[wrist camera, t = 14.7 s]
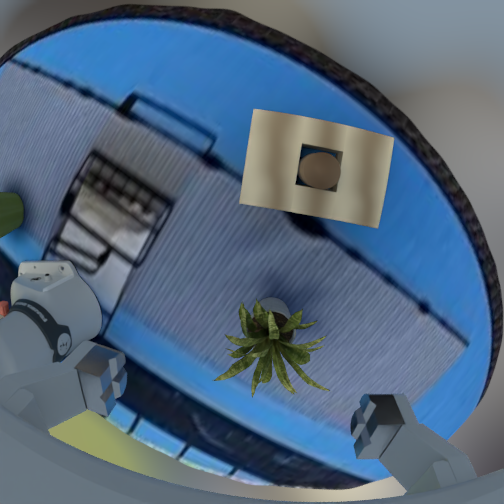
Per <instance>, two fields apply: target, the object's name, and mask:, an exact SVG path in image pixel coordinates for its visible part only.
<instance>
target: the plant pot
mask: <svg viewBox="0 0 504 504" xmlns="http://www.w3.org/2000/svg"><path fill="white" fill-rule="evenodd" d="M23 211H24V207H23V203H22V200H21V198H20V197H19V196H18V195H17V194H15V193H8V192H0V238H1V237H3V236H5V235H6V234H8V233H10V232H11V231H13V230H15V229H16V228H18V227H19V226H20V225H21V224H22V222H23V218H24V217H23Z"/></svg>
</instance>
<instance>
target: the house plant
mask: <svg viewBox="0 0 504 504" xmlns="http://www.w3.org/2000/svg"><path fill="white" fill-rule="evenodd" d="M302 310H303V309H302ZM302 310H300V311H298V312H295V313H294V314H293V315H292V316H291V315H290V312H289V310H288V308H287V306H286V304H285V303H284V302H283V301H282V300H280V299H278V298H274V297H269V298H265V299H263V300H261V301H260V302H258V301H257V298H256V304H255V306H254V308H253V313H252V314H251V315H250V313H249V312H248V311H247V310H246V309H245V308H244V304H242V302H241V306H240V309H239V317H240V320H241V327H242V331H243V333H244V335H245V337H246V338H242V339H239V338H236V337H233V336H228V335H226V334H225V336H226V337H227V338H228V339H229V340H230V341H231V342H232V343H234V344H236V345H239V346H243V347H241V348H239V349H237V350H236V351H233V350H230V349H228V350H230V351H232V352H233V353H231V354H228V355H229V356H231V357H233V358H240V357H242V356H244V357H243V358H242V359H240V360H239V361H237V362H236V363H234V364H233V365H232V366H231V367H230V368H229V370H228V371H227V372H225V373H224V374H222V375H220V376H219V377H217V378H216V379H215V380H214V381H218V380H225V379H228V378H231V377H233V376H235V375H237V374H238V373H240V372H241V371H243V370H245V369H246V368H248V367H249V366H250V365H251V364H252V363H253V361H254V360H255V359H256V358H257V357H260V358H259V361H258V364H257V367H256V370H255V372H254V375H253V379H252V398H253V395H254V393H255V389H256V387H257V385H258V383H260V382H261V381H262V383H266V382H269V381H270V379H271V377H272V359H273V364H274V367H275V370H276V373H277V376H278V378H279V380H280V382H281V383H282V384H283V386H284V387H285V388H286V389H287V390H288V391H290V392H291V393H293V394H294V392H296V391H295V389H294V388H293V387H292V385H291V383H290V380H289V378H288V375H287V372H286V368H285V364H284V362H283V360H282V357H281V354H282V355H283V357H284V358H285V359H286V360H287V362H288V363H289V364H290V365H291V366H292V367H293V368H294V370H295V371H296V372H297V373H298V375H299V376H300V377H301V378H302V379H303V380H304V381H305V382H306V383H307V384H309V385H311V386H314V387H317V388H319V389H322V390H327V391H330V390H328V389H326V388H324V387H323V386H321V385H319V384H317V383H316V382H314V381H313V380H312V379H310V378H309V377H308V376H307V375H306V374H305V373H304V372H303V371H302V369H301V368H300V367H299V366H298V365H297V364H299V365H303V364H306V363H308V362H309V361H310V354H309V353H308V352H312V351H315V350H318V349H320V348H322V347H323V346H324V345H323V346H320V347H317V348H314V349H307V348H310V347H312V346H313V345H315V344H317V343H319V342H320V341H322V340H323V339H324V338H325V337H326V336H324V337H322V338H320V339H317V340H315V341H312V342H309V343H305V344H299V345H295V344H292V343H293V341H294V340H295V336H296V329H306V328H308V327H309V326H311V325H313V324H315V323H316V322H317V321H314V322H311V323H308V324H302V325H298V324H299V323H300V321H301V319H302ZM252 348H253V350H252V351H251V352H249V351H250V350H251V349H252ZM226 349H227V348H226ZM306 351H307V352H306ZM248 352H249V353H248ZM280 352H281V354H280ZM246 353H248V354H246ZM294 361H295V362H296V363H297V364H296V363H295V362H294ZM261 371H262V374H261ZM260 374H261V379H260V380H259V378H260ZM293 391H294V392H293ZM296 393H297V392H296Z"/></svg>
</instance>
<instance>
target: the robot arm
mask: <svg viewBox="0 0 504 504" xmlns="http://www.w3.org/2000/svg"><path fill="white" fill-rule="evenodd" d="M63 267H64V269H63ZM11 302H12V307H11V308H10V310H9V308H8V302H7V301H1V302H0V314H1V315H4V318H2V319H0V504H504V468H503V469H501V470H498V471H496V472H493V473H490V474H487V475H484V476H481V477H477V475H476V473H475V471H474V469H473V467H472V464H471V463H470V460H469V458H468V456H467V455H466V454H465V453H464V452H462V451H461V450H459V449H457V448H456V447H455V446H453V445H452V444H451V443H449V442H448V441H446V440H445V439H443V438H442V437H441V436H439V435H438V434H436V433H435V432H434V431H432V430H431V429H429V428H428V427H426V426H425V425H424V424H419V423H418V421H417V418H416V416H415V414H414V412H413V410H412V408H411V406H410V403H409V401H408V399H407V397H406V395H404V394H364V395H363V396H362V398H361V400H360V406H361V407H360V408H359V409H357V410H356V411H355V412H354V414H353V416H352V420H351V435H352V436H353V437H354V438H355V439H356V442H355V444H354V449H355V453H356V458H357V459H379V461H380V462H381V463H382V464H383V465H384V466H385V467H386V469H387V470H388V471H389V472H390V473H391V474H392V475H393V476H394V477H395V478H396V479H397V480H398V482H399V483H400V484H401V485H402V486H403V487H404V488H405V489H406V490H407V492H406V493H405V494H404V495H403V496H397V497H390V498H382V499H373V500H362V501H347V502H290V501H289V502H288V501H273V500H263V499H253V498H245V497H238V496H231V495H225V494H219V493H213V492H208V491H204V490H199V489H194V488H189V487H186V486H182V485H177V484H174V483H170V482H166V481H163V480H159V479H156V478H153V477H149V476H146V475H143V474H140V473H137V472H134V471H131V470H128V469H125V468H123V467H120V466H117V465H115V464H112V463H109V462H107V461H104V460H102V459H100V458H97V457H95V456H93V455H90V454H88V453H86V452H84V451H81V450H79V449H77V448H75V447H73V446H71V445H69V444H66V443H65V442H63V441H61V440H59V439H57V438H55V437H53V436H51V435H50V433H49V431H48V429H50V428H52V427H54V426H56V425H58V424H60V423H62V422H64V421H66V420H68V419H70V418H72V417H74V416H76V415H78V414H80V413H82V412H84V411H86V409H88V410H91V411H94V412H96V413H99V414H102V415H105V416H107V417H108V416H109V414H110V413H111V411H112V410H113V408H114V406H115V405H116V403H115V399H116V398H118V397H120V396H121V395H122V394H123V392H124V390H125V387H126V384H127V372H126V371H125V369H124V368H123V365H124V364H125V354H124V353H122V352H120V351H117V350H114V349H111V348H108V347H105V346H103V345H100V344H96V343H94V342H91V341H88V340H90V339H92V338H94V337H95V336H96V335H97V334H98V333H99V331H100V329H101V324H102V315H101V310H100V306H99V303H98V301H97V299H96V297H95V295H94V293H93V292H92V290H91V289H90V288H89V286H88V285H87V284H86V283H85V282H84V281H83V280H82V279H81V278H80V276H79V275H78V273H77V271H76V269H75V267H74V265H73V264H72V263H71V262H70V261H23V262H22V263H21V264H20V267H19V272H18V278H16V279H15V280H14V281H13V283H12V286H11ZM73 350H74V351H73ZM72 351H73V352H72ZM71 352H72V353H71ZM69 353H71V354H70V355H69V356H68V357H67V358H66V359H65V360H64V361H63V362H62V363H60V362H61V361H62V360H63V359H64V357H65V356H67V355H68V354H69Z"/></svg>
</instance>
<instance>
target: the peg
mask: <svg viewBox="0 0 504 504" xmlns="http://www.w3.org/2000/svg"><path fill="white" fill-rule="evenodd" d="M297 173H298V176H299V178H300V179H301V180H302V182H303V183H305V184H306V185H308V186H311V187H314V188H317V189H322V190H324V189H329V188H331V187H333V186H334V185H335V184H336V183H337V182H338V180H339V178H340V175H341V168H340V164H339V162H338V161H337V159H336V158H335V157H334V156H332V155H331V154H329V153H325V152H318V153H311V154H308V155H306V156H304V157H303V158H302V159H301V160H300V161H299V165H298V171H297Z"/></svg>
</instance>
